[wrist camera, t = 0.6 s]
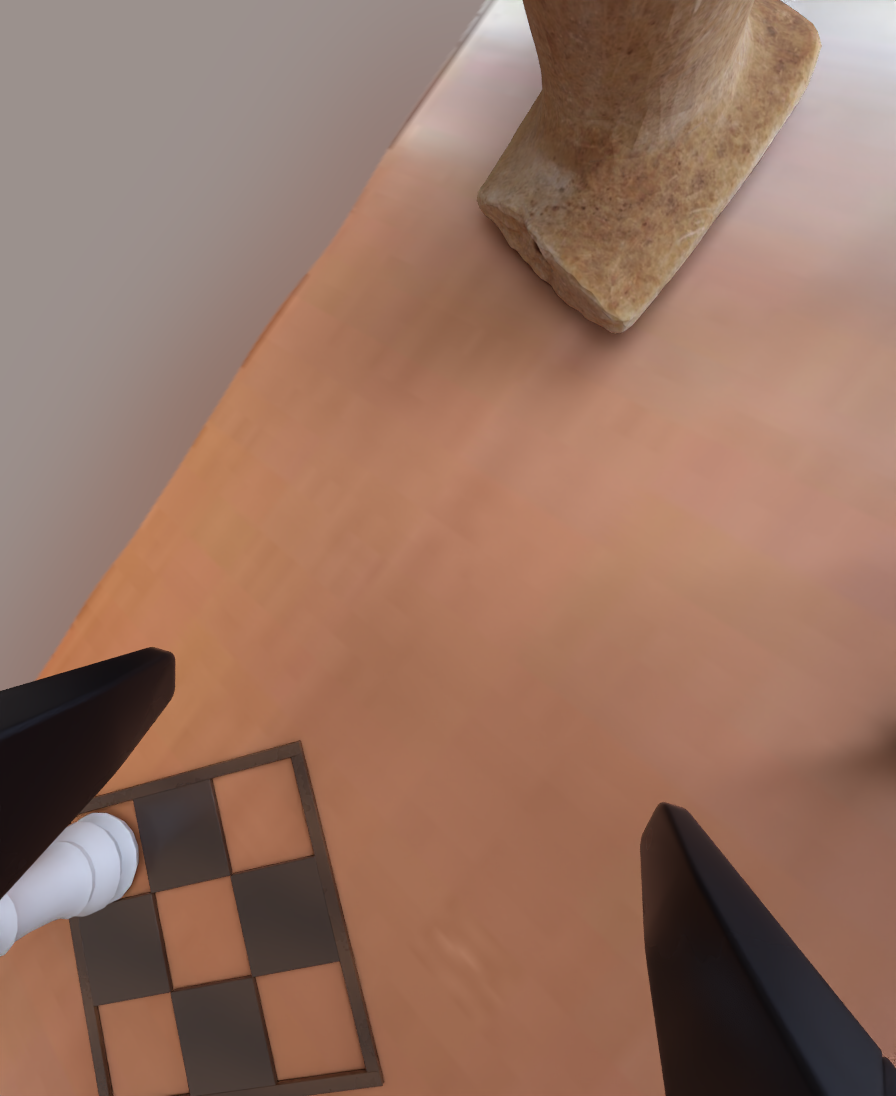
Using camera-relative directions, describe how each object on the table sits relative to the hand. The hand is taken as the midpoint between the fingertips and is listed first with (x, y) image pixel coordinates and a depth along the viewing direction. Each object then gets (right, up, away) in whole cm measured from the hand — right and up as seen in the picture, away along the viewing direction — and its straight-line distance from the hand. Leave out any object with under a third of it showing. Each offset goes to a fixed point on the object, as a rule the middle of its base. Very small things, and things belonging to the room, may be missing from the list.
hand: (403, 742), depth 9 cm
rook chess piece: (-17, -12, +17) cm, 27 cm away
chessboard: (-11, -15, +16) cm, 24 cm away
